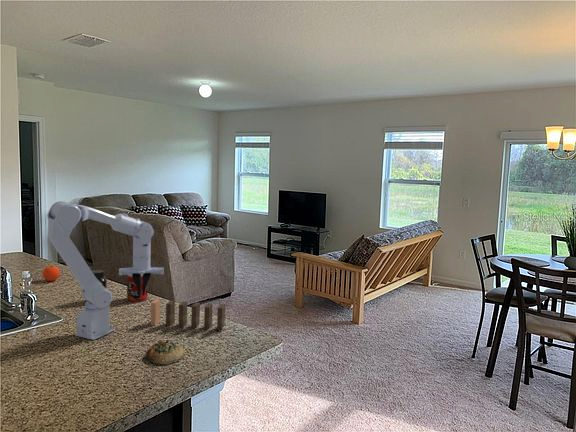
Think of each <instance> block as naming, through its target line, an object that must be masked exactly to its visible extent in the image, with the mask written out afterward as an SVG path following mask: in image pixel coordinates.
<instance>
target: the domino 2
mask: <svg viewBox="0 0 576 432" xmlns="http://www.w3.org/2000/svg"><path fill="white" fill-rule="evenodd" d="M175 316H176V300H171V299H170V300H169V301H168V302H167V303H165V327H166V326H171V325H172V326H173V325H174V324H176V322H175V321H176V320H175V318H176V317H175ZM172 326H171V327H172Z"/></svg>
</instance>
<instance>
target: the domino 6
mask: <svg viewBox="0 0 576 432" xmlns="http://www.w3.org/2000/svg"><path fill="white" fill-rule="evenodd" d="M216 315H217V318H216V321H217V323H216V331H217V330H222V329H223V327H224V326H225V327H226V321H225V320H226V304H220V305H219V306H217V314H216ZM225 327H224V328H225ZM223 330H224V329H223ZM223 330H222V331H223Z"/></svg>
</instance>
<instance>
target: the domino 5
mask: <svg viewBox="0 0 576 432" xmlns="http://www.w3.org/2000/svg"><path fill="white" fill-rule="evenodd" d="M203 319H204V320H203V322H204V324H203V330H204V329H209V328H210V327H211V326H212V327H213V303H207V304H206V305H205V306H204V318H203ZM212 327H211V328H212ZM211 328H210V329H211ZM210 329H209V330H210Z"/></svg>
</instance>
